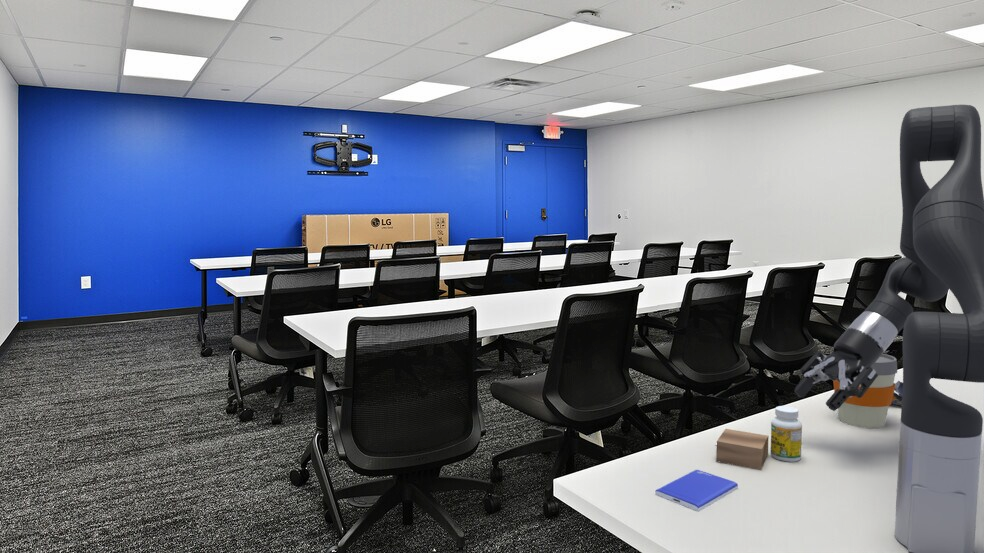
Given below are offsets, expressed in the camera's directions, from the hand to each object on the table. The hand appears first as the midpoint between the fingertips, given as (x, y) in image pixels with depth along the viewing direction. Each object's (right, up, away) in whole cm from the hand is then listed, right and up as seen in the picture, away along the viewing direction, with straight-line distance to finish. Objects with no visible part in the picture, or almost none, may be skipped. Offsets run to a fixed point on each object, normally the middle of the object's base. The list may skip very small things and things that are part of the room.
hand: (813, 401), depth 120 cm
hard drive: (-28, -13, -14) cm, 34 cm away
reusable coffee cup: (+21, -9, +20) cm, 30 cm away
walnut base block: (-14, -11, -1) cm, 18 cm away
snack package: (+39, -8, +31) cm, 51 cm away
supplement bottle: (-6, -11, 0) cm, 12 cm away
